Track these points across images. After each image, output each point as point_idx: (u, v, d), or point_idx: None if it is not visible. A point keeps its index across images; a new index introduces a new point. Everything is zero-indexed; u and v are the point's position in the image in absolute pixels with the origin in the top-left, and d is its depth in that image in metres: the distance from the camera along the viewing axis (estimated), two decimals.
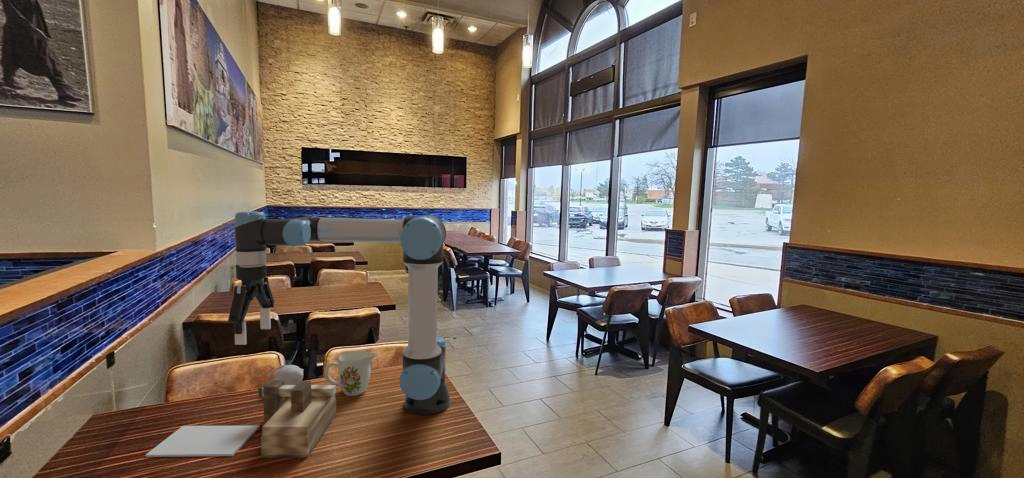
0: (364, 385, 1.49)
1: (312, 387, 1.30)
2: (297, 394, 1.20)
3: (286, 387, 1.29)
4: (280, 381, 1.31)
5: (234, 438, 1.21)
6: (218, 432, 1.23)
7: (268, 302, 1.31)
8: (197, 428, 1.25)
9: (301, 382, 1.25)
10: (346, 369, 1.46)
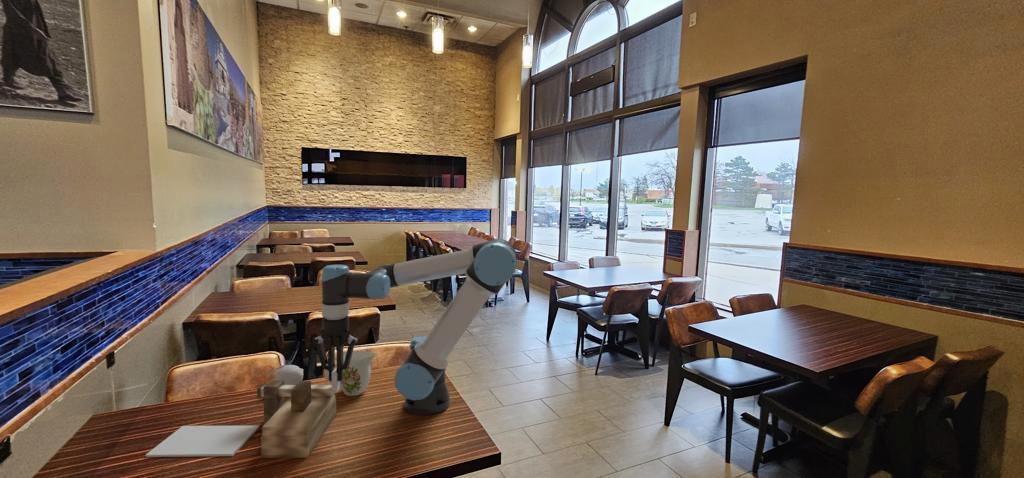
0: (364, 385, 1.49)
1: (311, 387, 1.30)
2: (297, 394, 1.20)
3: (285, 387, 1.29)
4: (280, 381, 1.31)
5: (234, 438, 1.21)
6: (218, 432, 1.23)
7: (338, 364, 1.29)
8: (197, 428, 1.25)
9: (301, 382, 1.25)
10: (346, 369, 1.46)
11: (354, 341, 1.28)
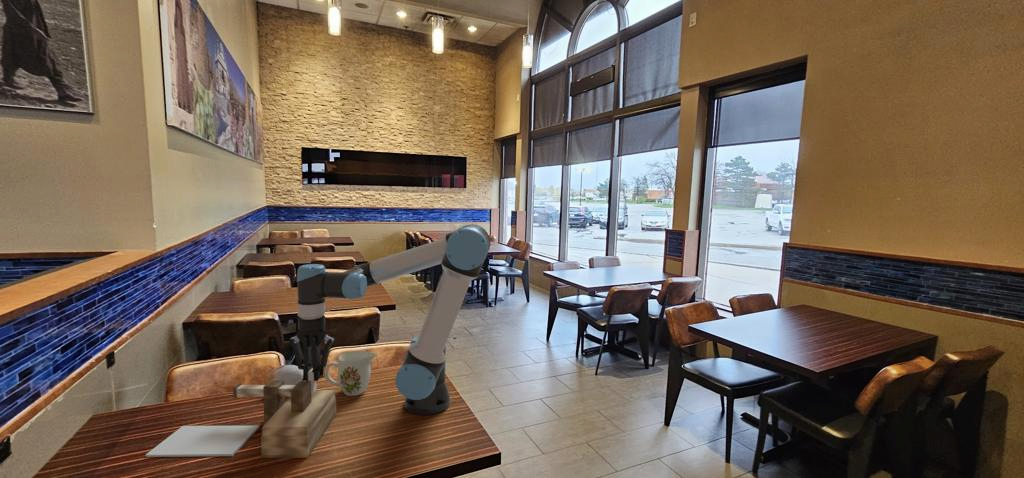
0: (364, 385, 1.49)
1: (287, 387, 1.29)
2: (297, 394, 1.20)
3: (261, 387, 1.29)
4: (280, 381, 1.31)
5: (234, 438, 1.21)
6: (218, 432, 1.23)
7: (314, 364, 1.28)
8: (197, 428, 1.25)
9: (301, 382, 1.25)
10: (346, 369, 1.46)
11: (330, 341, 1.28)
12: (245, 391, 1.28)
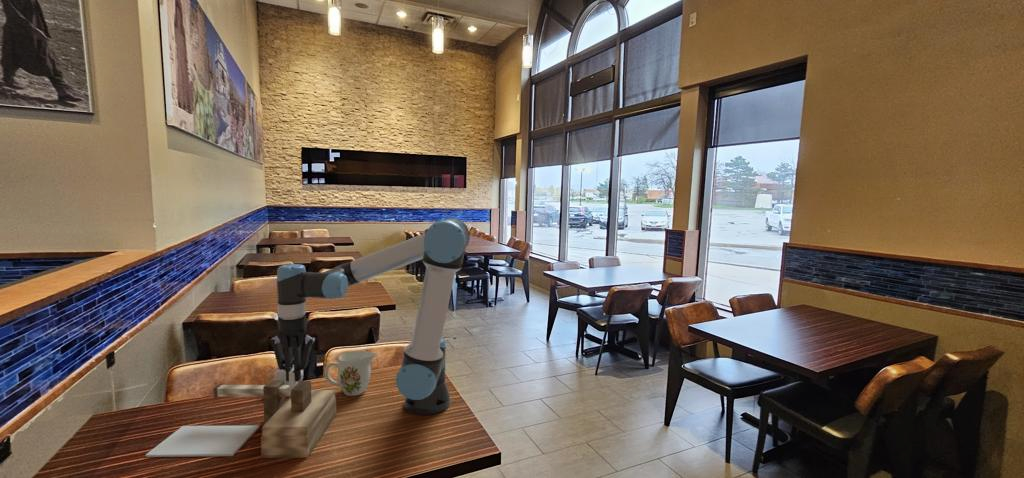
0: (364, 385, 1.49)
1: None
2: (297, 394, 1.20)
3: (242, 387, 1.29)
4: (280, 381, 1.31)
5: (234, 438, 1.21)
6: (218, 432, 1.23)
7: (295, 364, 1.28)
8: (197, 428, 1.25)
9: (301, 382, 1.25)
10: (346, 369, 1.46)
11: (311, 341, 1.28)
12: (225, 391, 1.27)
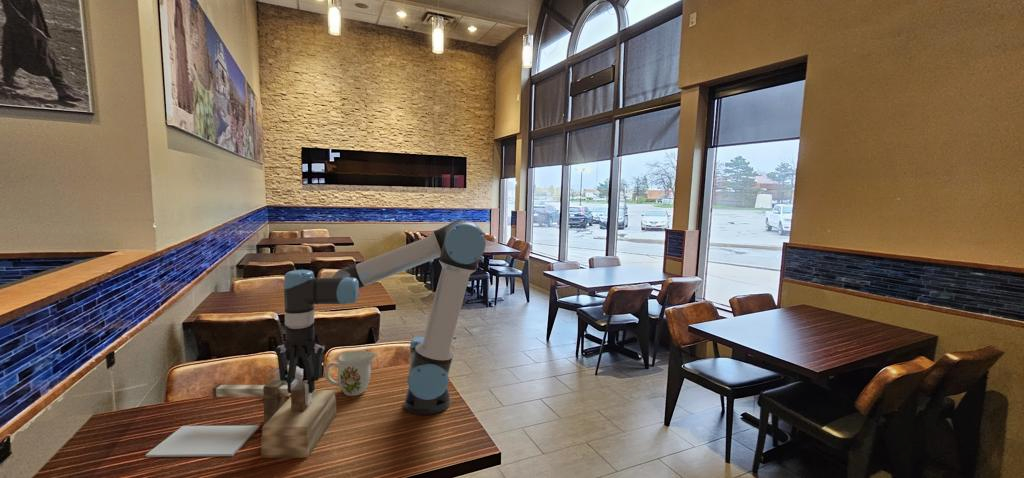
0: (364, 385, 1.49)
1: None
2: (297, 394, 1.20)
3: (241, 387, 1.29)
4: (280, 381, 1.31)
5: (234, 438, 1.21)
6: (218, 432, 1.23)
7: (308, 375, 1.22)
8: (197, 428, 1.25)
9: (301, 382, 1.25)
10: (346, 369, 1.46)
11: (320, 349, 1.21)
12: (224, 391, 1.27)
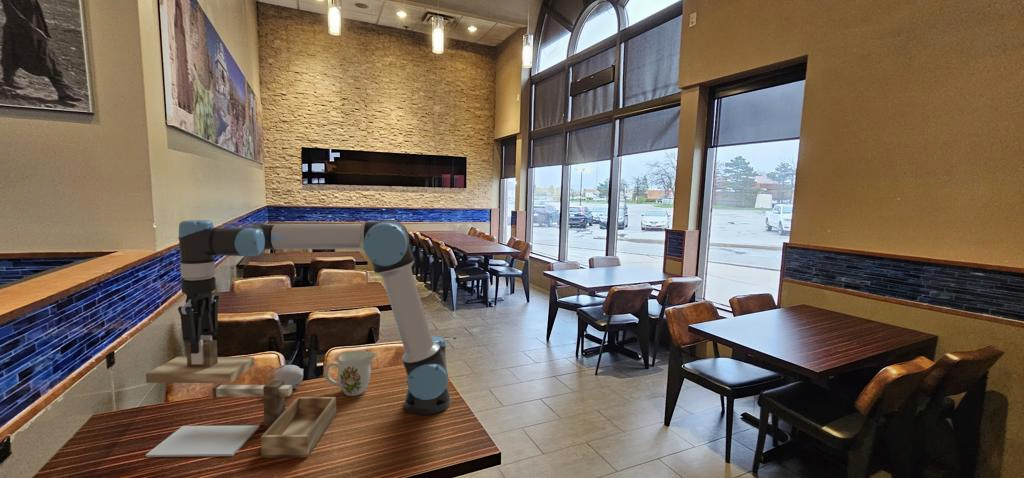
0: (364, 385, 1.49)
1: None
2: (214, 346, 1.17)
3: (241, 387, 1.29)
4: (280, 381, 1.31)
5: (234, 438, 1.21)
6: (218, 432, 1.23)
7: (211, 326, 1.19)
8: (197, 428, 1.25)
9: None
10: (346, 369, 1.46)
11: (218, 296, 1.22)
12: (224, 391, 1.27)
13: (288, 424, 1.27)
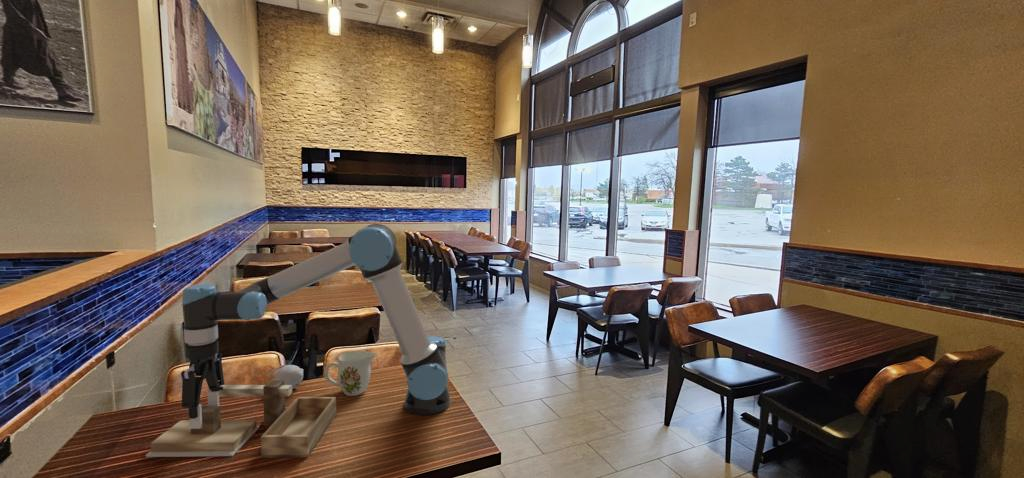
0: (364, 385, 1.49)
1: None
2: (217, 412, 1.20)
3: (241, 387, 1.29)
4: (280, 381, 1.31)
5: None
6: None
7: (217, 383, 1.22)
8: None
9: None
10: (346, 369, 1.46)
11: (221, 354, 1.24)
12: (224, 391, 1.27)
13: (288, 424, 1.27)
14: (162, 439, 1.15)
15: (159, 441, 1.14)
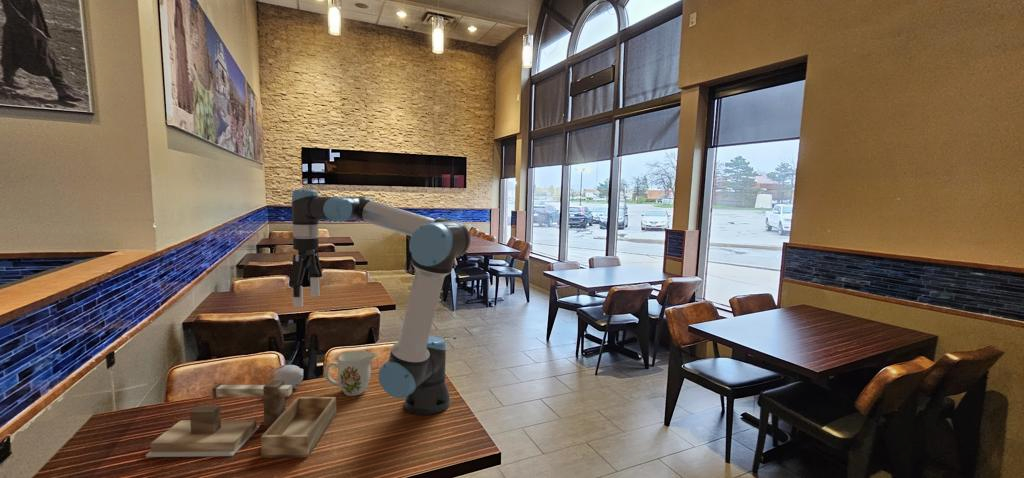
0: (364, 385, 1.49)
1: None
2: (217, 412, 1.20)
3: (241, 387, 1.29)
4: (280, 381, 1.31)
5: None
6: None
7: (318, 272, 1.46)
8: None
9: (195, 410, 1.18)
10: (346, 369, 1.46)
11: (317, 250, 1.45)
12: (224, 391, 1.27)
13: (288, 424, 1.27)
14: (162, 439, 1.15)
15: (159, 441, 1.14)
